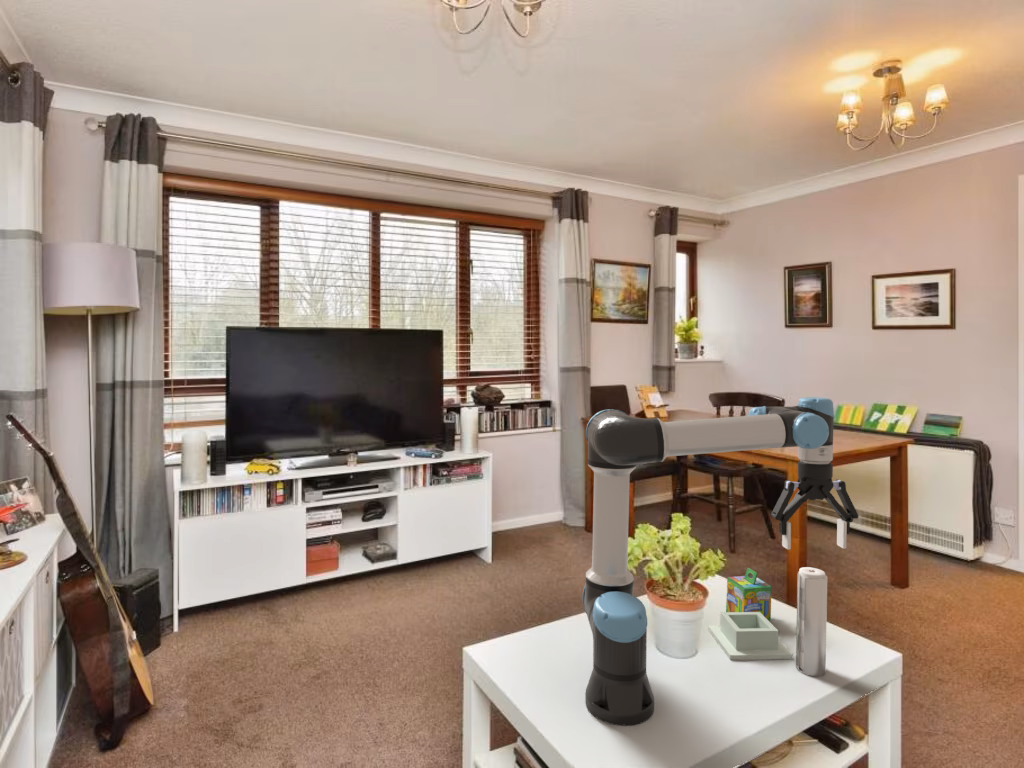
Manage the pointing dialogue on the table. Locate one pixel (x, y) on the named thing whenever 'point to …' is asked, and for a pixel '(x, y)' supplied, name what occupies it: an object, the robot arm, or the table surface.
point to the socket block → (748, 637)
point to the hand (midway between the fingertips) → (813, 547)
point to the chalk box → (749, 594)
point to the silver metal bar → (811, 621)
